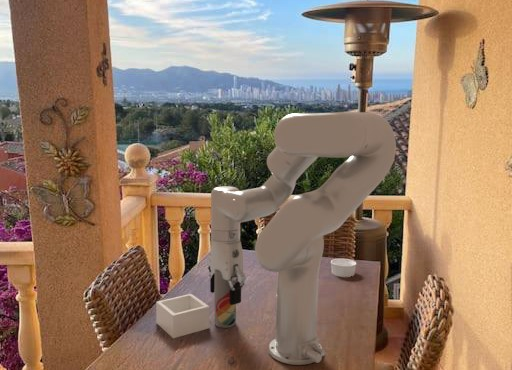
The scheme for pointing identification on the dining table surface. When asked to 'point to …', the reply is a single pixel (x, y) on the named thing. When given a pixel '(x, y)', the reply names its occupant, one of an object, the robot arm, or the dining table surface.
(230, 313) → the lotion bottle
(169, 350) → the dining table surface
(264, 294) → the dining table surface
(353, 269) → the ramekin
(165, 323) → the caddy
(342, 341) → the dining table surface
